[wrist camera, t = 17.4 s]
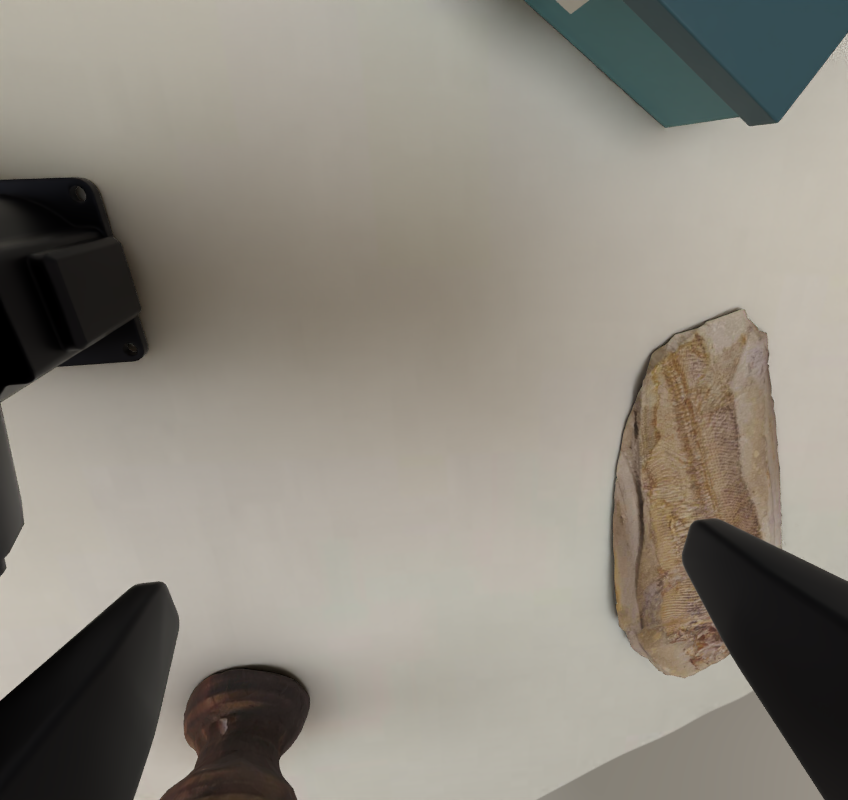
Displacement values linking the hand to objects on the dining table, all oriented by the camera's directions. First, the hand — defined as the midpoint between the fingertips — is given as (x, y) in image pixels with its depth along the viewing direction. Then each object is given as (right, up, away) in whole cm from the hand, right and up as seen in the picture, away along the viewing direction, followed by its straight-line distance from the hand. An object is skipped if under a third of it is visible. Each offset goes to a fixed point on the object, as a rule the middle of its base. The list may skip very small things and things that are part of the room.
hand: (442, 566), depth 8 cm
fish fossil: (+16, -4, +19) cm, 25 cm away
